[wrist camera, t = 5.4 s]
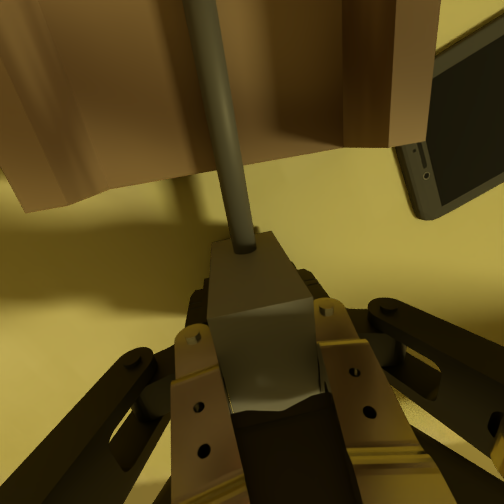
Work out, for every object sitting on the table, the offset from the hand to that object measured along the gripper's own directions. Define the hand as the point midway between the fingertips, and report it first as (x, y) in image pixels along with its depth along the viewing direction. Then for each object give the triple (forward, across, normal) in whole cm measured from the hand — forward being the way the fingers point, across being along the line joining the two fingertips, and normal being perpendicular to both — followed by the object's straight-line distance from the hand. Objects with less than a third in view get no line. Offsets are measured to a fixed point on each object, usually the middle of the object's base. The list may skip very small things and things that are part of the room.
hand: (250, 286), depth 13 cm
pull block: (+1, 0, -10) cm, 10 cm away
